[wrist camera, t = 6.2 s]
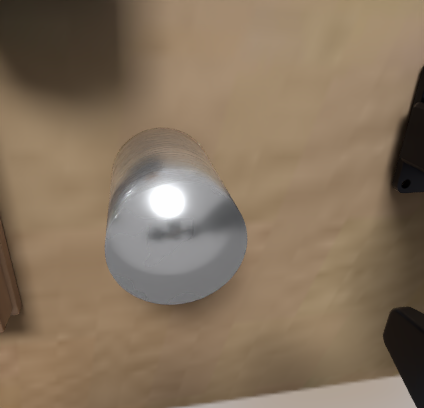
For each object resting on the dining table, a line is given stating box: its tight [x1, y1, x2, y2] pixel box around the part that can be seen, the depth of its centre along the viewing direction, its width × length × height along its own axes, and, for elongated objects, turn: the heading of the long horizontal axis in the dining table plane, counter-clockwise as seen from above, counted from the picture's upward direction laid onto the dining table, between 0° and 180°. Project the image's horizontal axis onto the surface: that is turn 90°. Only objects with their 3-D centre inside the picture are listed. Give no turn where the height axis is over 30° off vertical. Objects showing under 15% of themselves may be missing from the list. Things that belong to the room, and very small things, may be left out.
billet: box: [105, 128, 247, 305], centre depth 14 cm, size 4×4×6 cm
